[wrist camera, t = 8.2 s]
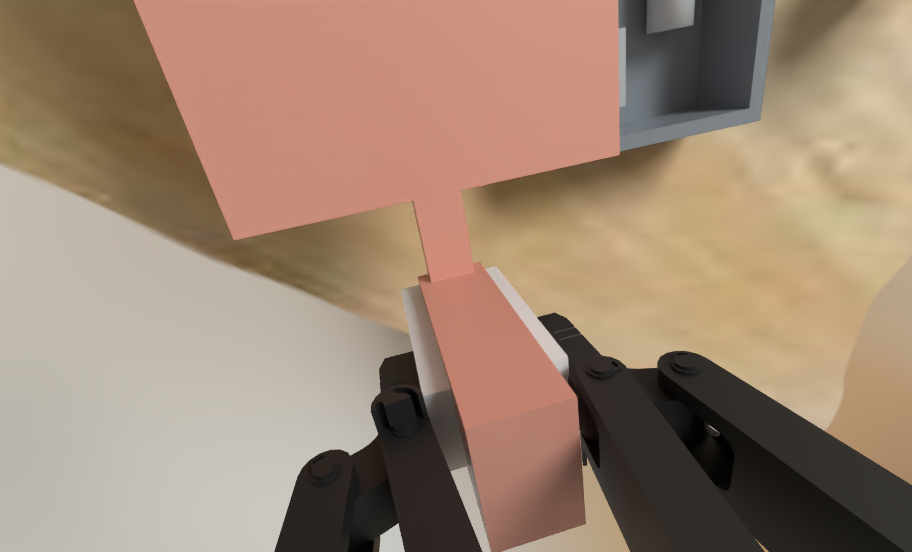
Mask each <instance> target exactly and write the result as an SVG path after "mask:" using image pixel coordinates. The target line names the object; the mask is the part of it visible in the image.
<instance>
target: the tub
mask: <svg viewBox="0 0 912 552" xmlns="http://www.w3.org/2000/svg"><path fill="white" fill-rule="evenodd" d="M774 7H775V0H618V33H619V128H620V151H624V150H629V149H633V148H638V147H642V146H647V145H651V144H656V143H660V142H665V141H670V140H674V139H679V138H683V137H688V136H692V135H697V134H701V133H706V132H710V131H715V130H719V129H724V128H728V127H733V126H737V125H742V124H747V123H751V122H756V121H760V117H761V109H762V102H763V94H764V86H765V78H766V70H767V62H768V54H769V46H770V39H771V31H772V23H773V15H774Z"/></svg>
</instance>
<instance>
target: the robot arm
mask: <svg viewBox="0 0 912 552" xmlns="http://www.w3.org/2000/svg"><path fill="white" fill-rule="evenodd" d="M485 270H486V271H487V273H488V274H489V275H490V277H491V278H492V279H493V281H494V282H495V284H496V285H497V286H498V288H499V289H500V291H501V292H502V293H503V295H504V296H505V297H506V299H507V300H508V302H509V303H510V304H511V306H512V307H513V309H514V310H515V311H516V313H517V314H518V315H519V317H520V318H521V320H522V321H523V322H524V324H525V325H526V327H527V328H528V329H529V331H530V332H531V333H532V335H533V336H534V338H535V339H536V340H537V342H538V343H539V345H540V346H541V347H542V349H543V350H544V351H545V353H546V354H547V356H548V357H549V358H550V360H551V361H552V363H553V364H554V365H555V367H556V368H557V369H558V371H559V372H560V374H561V375H562V376H563V378H564V379H565V381H566V382H567V383H568V385H569V386H570V387H571V389H572V390H573V392H574V393H575V394H576V396H577V400H578V415H579V430H580V437H581V452H582V462H583V466H586V465H587V458H588V460H589V463H590V465H591V467H592V469H593V471H594V474H595V476H596V478H597V480H598V482H599V484H600V486H601V488H602V491H603V493H604V495H605V497H606V500H607V502H608V504H609V506H610V508H611V510H612V513H613V515H614V517H615V519H616V521H617V524H618V526H619V528H620V530H621V532H622V534H623V537H624V539H625V541H626V543H627V545H628V548H629V550H630V552H764V550H763V549H762V548H761V546H760V545H759V544H758V542H759V543H761V544H762V545H763V546H764V547H765V548H766V549H767V550H768V551H769V552H912V485H911V484H909V483H907V482H906V481H904V480H902V479H901V478H899V477H898V476H896V475H894V474H893V473H891V472H890V471H888V470H886V469H885V468H883V467H881V466H880V465H878V464H877V463H875V462H873V461H872V460H870V459H869V458H867V457H865V456H863V455H862V454H860V453H859V452H857V451H856V450H854V449H852V448H851V447H849V446H848V445H846V444H844V443H843V442H841V441H839V440H838V439H836V438H834V437H833V436H831V435H829V434H828V433H826V432H825V431H823V430H822V429H820V428H818V427H817V426H815V425H814V424H812V423H810V422H809V421H807V420H806V419H804V418H802V417H801V416H799V415H797V414H796V413H794V412H793V411H791V410H789V409H788V408H786V407H785V406H783V405H781V404H780V403H778V402H776V401H775V400H773V399H772V398H770V397H768V396H767V395H765V394H764V393H762V392H760V391H759V390H757V389H755V388H754V387H752V386H751V385H749V384H747V383H746V382H744V381H743V380H741V379H739V378H738V377H736V376H735V375H733V374H731V373H730V372H728V371H726V370H725V369H723V368H722V367H720V366H718V365H717V364H715V363H714V362H712V361H710V360H709V359H707V358H705V357H703V356H701V355H699V354H696V353H692V352H687V351H674V352H669V353H666V354H664V355H663V356H661V357H660V358H659V360H658V363H657V368H646V369H629V368H626V366H625V365H624V364H623V363H621V362H620V361H619V360H617V359H614V358H612V357H607V356H602V355H601V354H600V353H599V352H598V351H597V350H596V349H595V348H594V347H593V346H592V345H591V344H590V343H589V342H588V340H587V339H586V338H585V337H584V336H583V335H581V334H580V332H579V331H578V330H577V329H576V328H575V327H574V325H573V324H572V323H571V322H570V321H569V320H568V319H567V318H565V317H563V316H561V315H559V314H556V313H552V314H548V315H544V316H540V317H536V316H535V315H534V313H533V312H532V311H531V310H530V308H529V307H528V306H527V305H526V303H525V302H524V301H523V300H522V298H521V297H520V296H519V294H518V293H517V292H516V291H515V289H514V288H513V287H512V286H511V284H510V283H509V282H508V281H507V279H506V278H505V277H504V276H503V274H502V273H501V272H500V271H499V269H498V268H497V267H496V266H495V267H491V268H487V269H485ZM401 292H402V297H403V302H404V307H405V312H406V317H407V322H408V327H409V332H410V337H411V341H412V347H413V351H411V352H408V353H404V354H400V355H396V356H392V357H389V358H385V359H384V361H383V363H382V365H381V367H380V369H379V373H380V388H381V393H380V394H379V395H378V396H376V397H375V399H374V401H373V402H372V404H371V413H372V416H373V419H374V422H375V425H376V428H377V431H378V436H377V437H376V438H375V439H374V440H373V441H372V442H371V443H370V444H369V445H368V446H366V447H365V448H363V449H361V450H360V451H358V452H356V453H354V454H353V455H351V456H350V455H349V454H348V452H345V451H342V450H329V451H326V452H323V453H320V454H318V455H317V456H315V457H314V458H312V459H311V460H309V462H308V463H307V464H306V465H305V466H304V467H303V468H302V470H301V472H300V474H299V475H298V477H297V480H296V484H295V487H294V490H293V493H292V497H291V500H290V503H289V506H288V510H287V513H286V516H285V519H284V522H283V526H282V529H281V532H280V535H279V539H278V542H277V545H276V548H275V552H379V547H380V535H381V534H383V533H384V532H386V531H387V530H389V529H390V528H392V527H393V526H395V525H396V524H398V523H399V527H400V532H401V536H402V540H403V545H404V549H405V552H482V550H481V547H480V545H479V543H478V540H477V537H476V535H475V532H474V530H473V527H472V525H471V523H470V520H469V517H468V515H467V512H466V510H465V507H464V505H463V502H462V500H461V497H460V495H459V492H458V490H457V487H456V485H455V482H454V480H453V477H452V475H451V472H450V471H452V470H455V469H459V468H462V467H465V466H468V464H467V459H466V455H465V450H464V446H463V441H462V437H461V432H460V428H459V423H458V419H457V415H456V410H455V406H454V401H453V397H452V392H451V388H450V385H449V381H448V378H447V375H446V372H445V368H444V365H443V362H442V358H441V355H440V352H439V349H438V345H437V342H436V339H435V335H434V332H433V329H432V325H431V322H430V319H429V316H428V312H427V309H426V306H425V302H424V299H423V296H422V293H421V289H420V285H417V286H413V287H409V288H405V289H401ZM710 426H711V427H713V428H714V429H715V430H716V431H718V432H719V433H718V432H716V431H715V430H713V429H712V428H711V427H710ZM755 539H756V540H757V541H758V542H757V541H756V540H755Z"/></svg>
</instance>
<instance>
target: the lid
mask: <svg viewBox="0 0 912 552" xmlns="http://www.w3.org/2000/svg"><path fill="white" fill-rule="evenodd" d="M134 3H135V5H136V8H137V10H138V12H139V15H140V17H141V19H142V22H143V24H144V27H145V29H146V31H147V34H148V36H149V39H150V41H151V43H152V46H153V48H154V51H155V53H156V55H157V58H158V60H159V63H160V65H161V67H162V70H163V72H164V75H165V77H166V79H167V82H168V84H169V87H170V89H171V91H172V94H173V96H174V98H175V101H176V103H177V106H178V108H179V110H180V113H181V115H182V118H183V120H184V122H185V125H186V127H187V130H188V132H189V134H190V137H191V139H192V142H193V144H194V146H195V149H196V151H197V154H198V156H199V158H200V161H201V163H202V166H203V168H204V170H205V173H206V175H207V177H208V180H209V182H210V185H211V187H212V189H213V192H214V194H215V197H216V199H217V201H218V204H219V206H220V209H221V211H222V213H223V216H224V218H225V221H226V223H227V225H228V228H229V230H230V233H231V235H232V237H233V240H239V239H243V238H248V237H252V236H257V235H261V234H266V233H270V232H275V231H279V230H284V229H288V228H293V227H297V226H302V225H306V224H311V223H315V222H320V221H324V220H329V219H333V218H338V217H342V216H347V215H351V214H356V213H360V212H365V211H369V210H374V209H379V208H383V207H388V206H392V205H397V204H401V203H406V202H410V201H412V203H413V208H414V212H415V217H416V221H417V226H418V230H419V235H420V239H421V244H422V249H423V253H424V258H425V262H426V267H427V271H428V274H427V275H423V276H419V277H418V280H419V284H420V289H421V293H422V296H423V299H424V302H425V306H426V309H427V312H428V316H429V319H430V322H431V325H432V329H433V332H434V335H435V339H436V342H437V345H438V349H439V352H440V355H441V358H442V362H443V365H444V368H445V372H446V375H447V378H448V381H449V385H450V388H451V392H452V397H453V401H454V406H455V410H456V415H457V419H458V423H459V428H460V432H461V437H462V441H463V446H464V450H465V455H466V459H467V464H468V466H467V467H468V471H469V475H470V478H471V482H472V485H473V489H474V492H475V496H476V499H477V503H478V506H479V510H480V513H481V517H482V521H483V524H484V527H485V531H486V534H487V538H488V542H489V545H490V549H491V552H501V551H504V550H507V549H510V548H513V547H516V546H520V545H522V544H525V543H528V542H532V541H535V540H538V539H541V538H544V537H547V536H550V535H553V534H556V533H559V532H562V531H565V530H568V529H571V528H575V527H577V526H581V525H584V524H586V519H585V504H584V491H583V490H584V489H583V476H582V460H581V445H580V430H579V415H578V400H577V396H576V394H575V393H574V392H573V390H572V389H571V387H570V386H569V385H568V383H567V382H566V381H565V379H564V378H563V376H562V375H561V374H560V372H559V371H558V369H557V368H556V367H555V365H554V364H553V363H552V361H551V360H550V358H549V357H548V356H547V354H546V353H545V351H544V350H543V349H542V347H541V346H540V345H539V343H538V342H537V340H536V339H535V338H534V336H533V335H532V333H531V332H530V331H529V329H528V328H527V327H526V325H525V324H524V322H523V321H522V320H521V318H520V317H519V315H518V314H517V313H516V311H515V310H514V309H513V307H512V306H511V304H510V303H509V302H508V300H507V299H506V297H505V296H504V295H503V293H502V292H501V291H500V289H499V288H498V286H497V285H496V284H495V282H494V281H493V279H492V278H491V277H490V275H489V274H488V273H487V271H486V270H485V268H484V267H483V266H482V264H481V263H480V262H477V263H473V260H472V254H471V248H470V242H469V236H468V230H467V224H466V218H465V212H464V207H463V201H462V195H461V190H464V189H469V188H473V187H478V186H482V185H487V184H491V183H496V182H500V181H505V180H509V179H514V178H518V177H523V176H527V175H532V174H536V173H541V172H545V171H550V170H554V169H559V168H564V167H568V166H573V165H577V164H582V163H586V162H591V161H595V160H600V159H604V158H609V157H613V156H618V155H620V128H619V33H618V0H134Z"/></svg>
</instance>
